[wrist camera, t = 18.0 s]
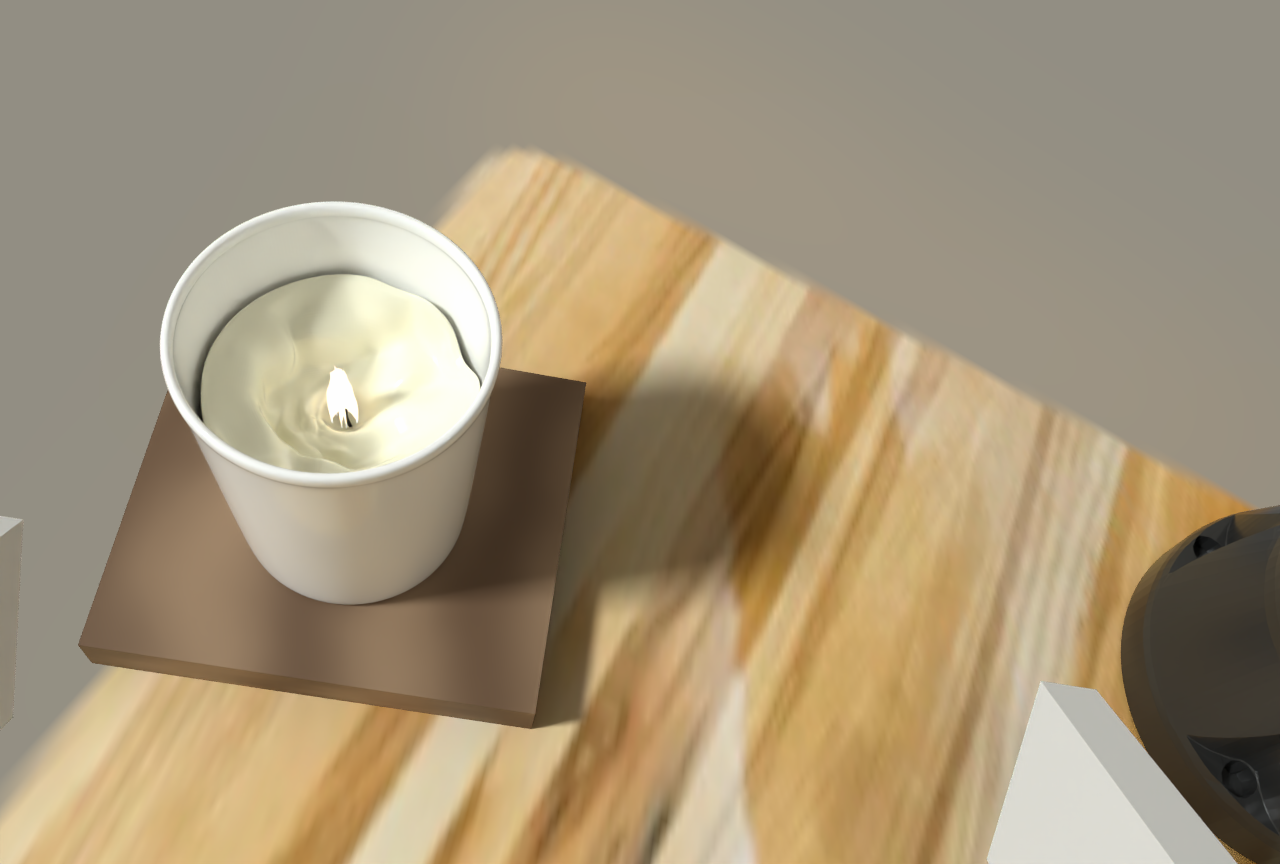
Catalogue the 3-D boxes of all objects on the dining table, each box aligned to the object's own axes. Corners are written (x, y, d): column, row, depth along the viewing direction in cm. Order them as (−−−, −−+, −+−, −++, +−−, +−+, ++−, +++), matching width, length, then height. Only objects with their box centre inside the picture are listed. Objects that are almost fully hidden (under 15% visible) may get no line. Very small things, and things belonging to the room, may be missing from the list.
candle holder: (428, 361, 50) (428, 165, 39) (527, 567, 46) (556, 412, 36) (185, 441, 46) (116, 250, 36) (272, 670, 43) (221, 532, 32)
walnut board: (580, 406, 52) (586, 382, 50) (531, 728, 45) (535, 714, 44) (202, 341, 51) (194, 314, 49) (91, 663, 44) (78, 644, 42)
